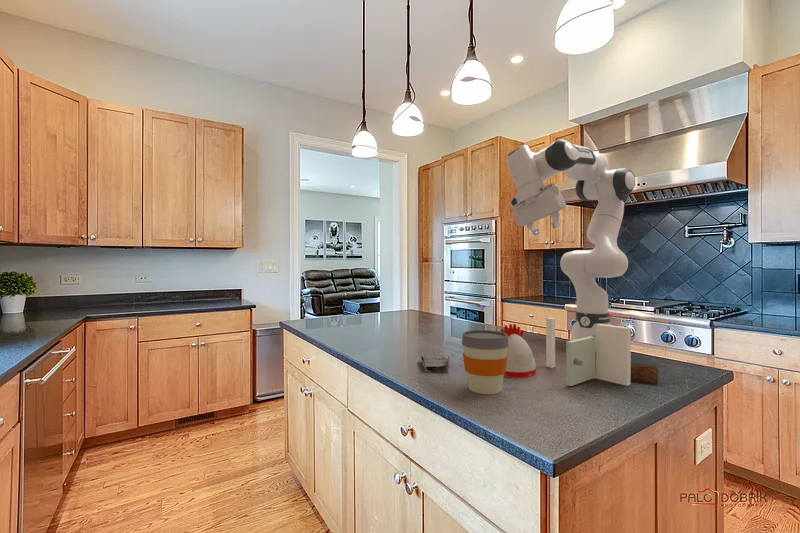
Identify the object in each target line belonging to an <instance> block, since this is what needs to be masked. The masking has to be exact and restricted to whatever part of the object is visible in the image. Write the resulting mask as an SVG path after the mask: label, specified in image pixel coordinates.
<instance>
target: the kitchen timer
mask: <svg viewBox="0 0 800 533" xmlns="http://www.w3.org/2000/svg"><path fill="white" fill-rule="evenodd" d="M508 325H509V326H508ZM508 325H507V324H504V329H500V332H503V333H506V334H507V335H508V344H509V346H508V347H507V352H506V355H507V356H508V357H507V365H506V372H505V373H504V376H503V377H506V378H507V377H508V378H528V377H532V376H535V375H536V374H537V365H536V360H535V357H534V354H533V351H532V349H531V348H530V345H529V344H528V343H527V341H526V340H525V339H524V338H523V335H524V332H525V331H524V330H523V329H521V327H520V326H517V324H516V323H513V324H511V323H509V324H508Z"/></svg>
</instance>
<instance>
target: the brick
mask: <svg viewBox="0 0 800 533" xmlns="http://www.w3.org/2000/svg"><path fill="white" fill-rule="evenodd" d="M658 374H659V370H658V368H657V365H654V364H648V363H647V364H646V363H636V362H635V363H633V362H631V382H635V383H644V384H654V385H658V383H659V382H658V381H659V380H658V378H659V377H658Z"/></svg>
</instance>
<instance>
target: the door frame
mask: <svg viewBox="0 0 800 533" xmlns="http://www.w3.org/2000/svg"><path fill="white" fill-rule="evenodd" d="M631 330H632V327H629V326H628V327H626V326H619V325H613V324H611V325H604V324H597V325H596V351H595V378H593V379H594V380H596V379H597V380H602V381H605V382H609V383H613V384H617V385H622V386H627V387H628V386H630V385H631V384H632V383H631V382H632V381H631V363H632V358H631V356H632V354H631V353H632V352H631V348H632V347H631V344H632V342H631V341H632V340H631V337H632V334H631V332H632V331H631ZM545 333H546V334H545V342H546V343H545V344H546V345H545V350H546V351H545V358H546V359H545V366H546V368H549V369H550V368H551V369H553V368H555V367H556V318H554V317H546V318H545ZM592 337H595V335H594V334H593V335H592ZM593 379H592V380H593Z"/></svg>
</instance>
